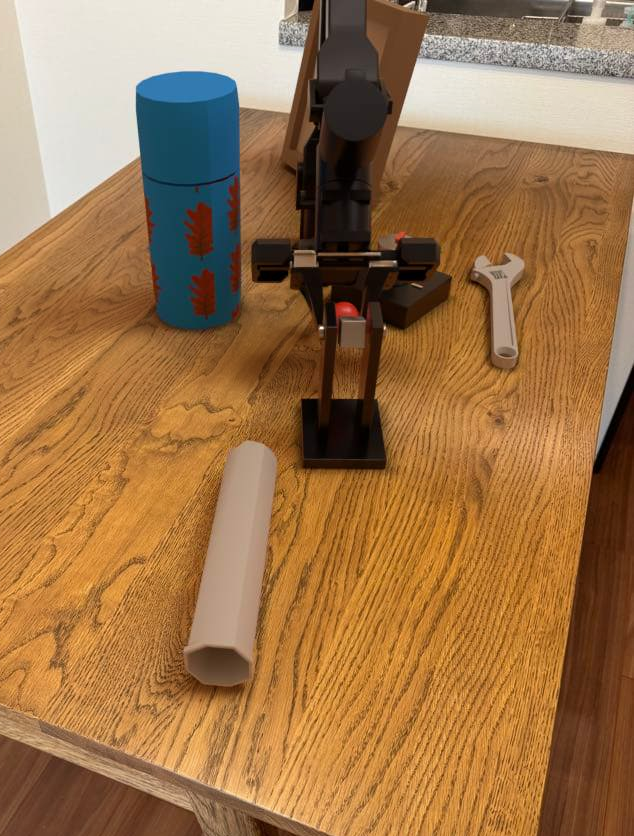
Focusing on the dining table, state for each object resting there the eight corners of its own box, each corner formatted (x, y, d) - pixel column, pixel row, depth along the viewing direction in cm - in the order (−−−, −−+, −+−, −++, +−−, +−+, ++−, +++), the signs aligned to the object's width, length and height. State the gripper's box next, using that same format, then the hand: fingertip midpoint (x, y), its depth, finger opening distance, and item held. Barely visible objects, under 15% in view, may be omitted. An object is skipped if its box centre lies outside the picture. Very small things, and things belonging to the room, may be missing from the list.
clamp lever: (325, 332, 81) (326, 300, 80) (356, 332, 81) (358, 300, 80) (334, 352, 70) (335, 316, 69) (370, 352, 70) (372, 316, 69)
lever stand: (300, 407, 83) (306, 286, 73) (376, 407, 83) (392, 286, 73) (302, 468, 76) (310, 344, 66) (385, 469, 76) (405, 344, 66)
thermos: (255, 296, 100) (255, 76, 82) (219, 338, 93) (211, 108, 75) (179, 280, 103) (164, 66, 85) (139, 319, 96) (113, 95, 78)
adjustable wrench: (516, 372, 87) (520, 358, 86) (457, 364, 88) (460, 350, 87) (522, 266, 103) (525, 254, 102) (472, 261, 105) (475, 249, 103)
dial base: (330, 300, 98) (331, 277, 96) (375, 271, 103) (378, 248, 101) (403, 330, 93) (407, 306, 91) (448, 298, 98) (452, 274, 96)
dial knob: (403, 288, 94) (409, 250, 90) (368, 281, 95) (373, 243, 92) (415, 272, 97) (421, 235, 93) (381, 265, 98) (385, 228, 95)
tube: (218, 435, 73) (171, 648, 56) (272, 424, 72) (240, 640, 54) (237, 477, 77) (197, 690, 59) (289, 467, 75) (264, 684, 58)
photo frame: (348, 214, 116) (365, 16, 98) (280, 165, 130) (284, -16, 112) (431, 195, 120) (462, 2, 102) (356, 149, 134) (372, -28, 116)
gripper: (420, 223, 87) (418, 362, 87) (253, 224, 88) (252, 362, 88) (442, 177, 76) (440, 337, 76) (252, 179, 77) (250, 336, 77)
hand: (341, 344), depth 80 cm, fingers open, 3 cm apart
